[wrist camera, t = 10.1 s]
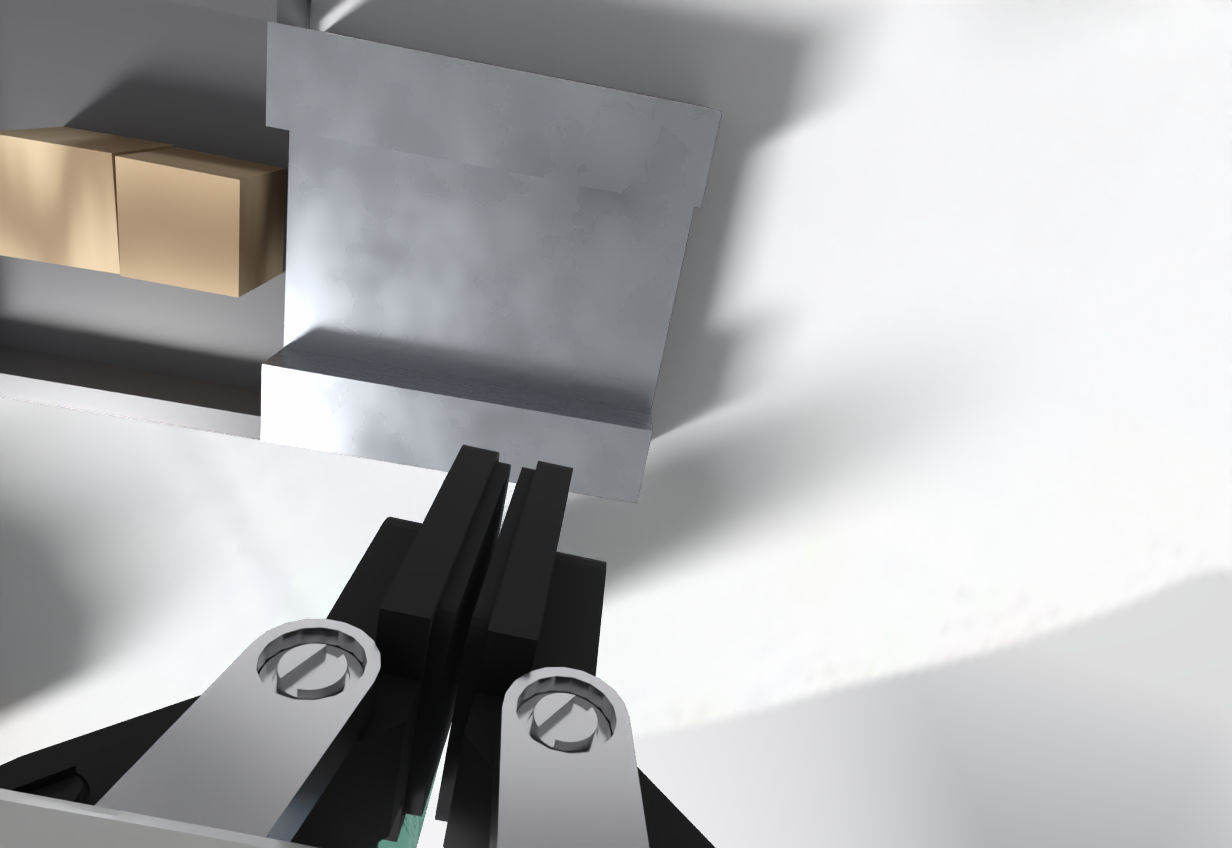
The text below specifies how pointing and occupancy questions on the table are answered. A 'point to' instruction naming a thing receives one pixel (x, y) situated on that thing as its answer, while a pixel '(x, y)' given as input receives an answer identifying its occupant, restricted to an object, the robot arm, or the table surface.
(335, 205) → the slot block
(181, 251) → the light brown cube
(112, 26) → the tray
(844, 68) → the table surface
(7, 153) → the tan cardboard cube
